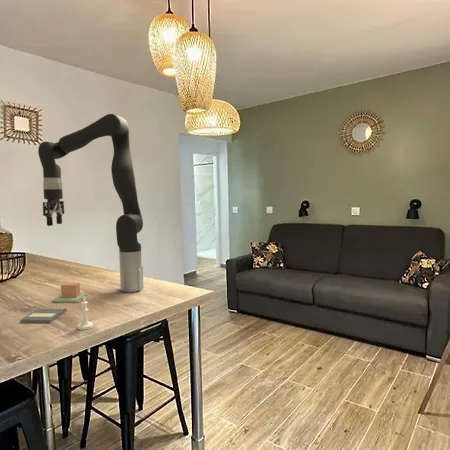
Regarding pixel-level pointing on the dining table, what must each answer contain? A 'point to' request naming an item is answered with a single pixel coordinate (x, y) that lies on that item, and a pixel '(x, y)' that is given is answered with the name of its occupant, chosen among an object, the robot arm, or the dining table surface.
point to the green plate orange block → (70, 293)
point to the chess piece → (84, 317)
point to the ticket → (43, 315)
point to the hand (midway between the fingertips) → (54, 224)
